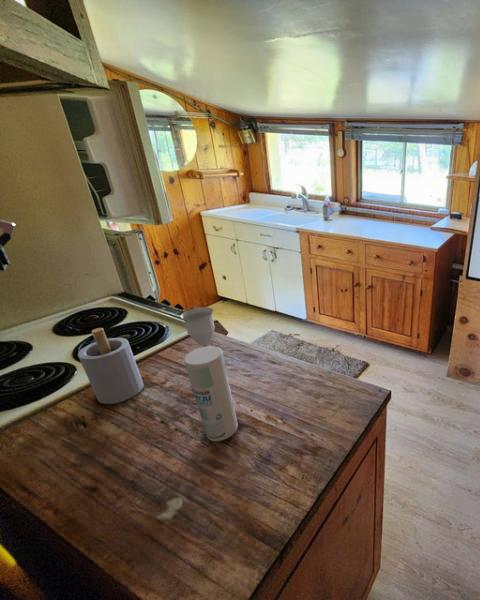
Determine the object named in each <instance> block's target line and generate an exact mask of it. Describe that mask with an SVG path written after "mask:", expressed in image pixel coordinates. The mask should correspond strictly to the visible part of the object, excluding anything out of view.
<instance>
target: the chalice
mask: <svg viewBox="0 0 480 600" xmlns="http://www.w3.org/2000/svg"><path fill="white" fill-rule="evenodd" d="M213 313H214V309H213V308H212V307H208V306H201V307H194V308H191V309H188V310H186V311H184V312H183V313H181V315H180V318H181V319H182V320H183V321H184V325H185V328H186V332H187V334H188V336H189V337H190V338H191V339H192V340H193V341H194V342H195V343H196V344H197V345H198V346H202V347H206V346H209V344H210V343H212V339H213V337H214V333H215V328H216V326H215V321H214V318H213Z"/></svg>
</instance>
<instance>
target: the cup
mask: <svg viewBox="0 0 480 600" xmlns="http://www.w3.org/2000/svg"><path fill="white" fill-rule="evenodd" d="M107 340H108V343H109V345H110V348H111V350H112V352H110V353H107V354H104V355H101V353H100V351H99V348H98V346H97V344H96V341H94V342H92V343H90V344H88V345H86V346H84V347H82V348H80V350H79V351H78V353H77V357H78V359H79V362H80V364H81V366H82V368H83V371H84V372H85V374H86V375H85V376H86V377H87V380H88V381H89V383H90V386H91V388H92V390H93V393H94V395H95V397H96V399H97V401H98V402H99V403H100V404H104V405H112V404H118V403H121V402H124V401H127V400H129V399H131V398H133V397H135V396H136V395H139V393H141V391H142V390H143V388H144V381H143V378H142V376H141V373H140V369H139V368H138V364H137V362H136V359H135V356H134V354H133V351H132V348H131V345H130V343H129V340H128V339H127V338H124V337H111V338H110V337H109V338H107Z"/></svg>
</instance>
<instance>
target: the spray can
mask: <svg viewBox="0 0 480 600" xmlns="http://www.w3.org/2000/svg"><path fill="white" fill-rule="evenodd" d="M183 363H184V365H185V369H186V372H187V376H188V379H189V382H190V385H191V389H192V392H193V396H194V399H195V402H196V405H197V409H198V412H199V415H200V419H201V422H202V425H203V429H204V433H205V435H206V437H207V439H208V440H209V441H212V442H221V441H224V440H227V439H229V438H230V437H232V436H233V435H234V434H235V433H236V432H237V430H238V425H239V424H238V423H239V422H238V419H237V414H236V409H235V404H234V401H233V400H234V399H233V396H232V391H231V387H230V382H229V378H228V373H227V368H226V363H225V358H224V354H223V350H222V349H221V348H220V347H218V346H215V345H208V346H206V347H203V346H201V347H198V348H194V349H193V350H191V351H190V352H188V353H186V355H185V356H184V358H183Z"/></svg>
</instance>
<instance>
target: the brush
mask: <svg viewBox="0 0 480 600" xmlns="http://www.w3.org/2000/svg"><path fill="white" fill-rule="evenodd" d="M91 334H92V336H93V340H94V342H96V344H97V346H98V348H99V351H100V353H101V355H104V354H107V353H110V352H112V350H111V348H110V345H109V343H108V340H107V339H108V337H107V335H106V332H105V330H104V328H103V327H97V328H94V329H92V330H91Z"/></svg>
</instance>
